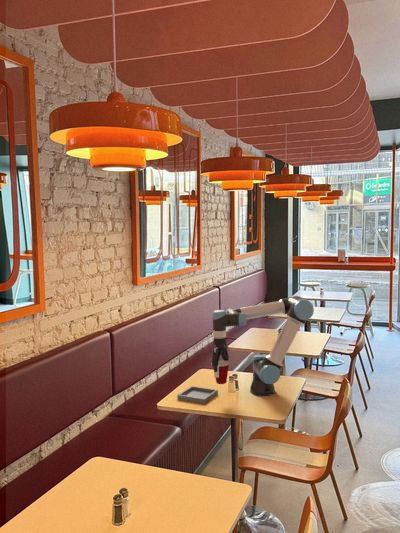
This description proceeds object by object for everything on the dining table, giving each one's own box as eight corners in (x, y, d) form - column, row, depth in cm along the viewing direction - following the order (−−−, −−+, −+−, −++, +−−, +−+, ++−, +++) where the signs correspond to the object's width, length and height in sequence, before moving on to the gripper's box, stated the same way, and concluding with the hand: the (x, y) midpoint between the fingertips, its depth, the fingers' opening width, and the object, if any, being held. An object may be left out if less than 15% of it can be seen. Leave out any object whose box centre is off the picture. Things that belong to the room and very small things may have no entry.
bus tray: (217, 394, 301) (217, 389, 301) (204, 404, 285) (204, 399, 285) (191, 390, 309) (191, 385, 309) (177, 399, 293) (177, 394, 293)
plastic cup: (213, 379, 294) (213, 359, 293) (231, 380, 291) (231, 360, 290) (210, 385, 283) (209, 364, 282) (228, 386, 281) (228, 365, 280)
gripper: (222, 332, 297) (223, 368, 299) (204, 341, 276) (206, 379, 278) (233, 333, 293) (234, 369, 295) (216, 342, 273) (218, 381, 275)
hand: (220, 374), depth 287 cm, fingers closed on plastic cup, 11 cm apart
